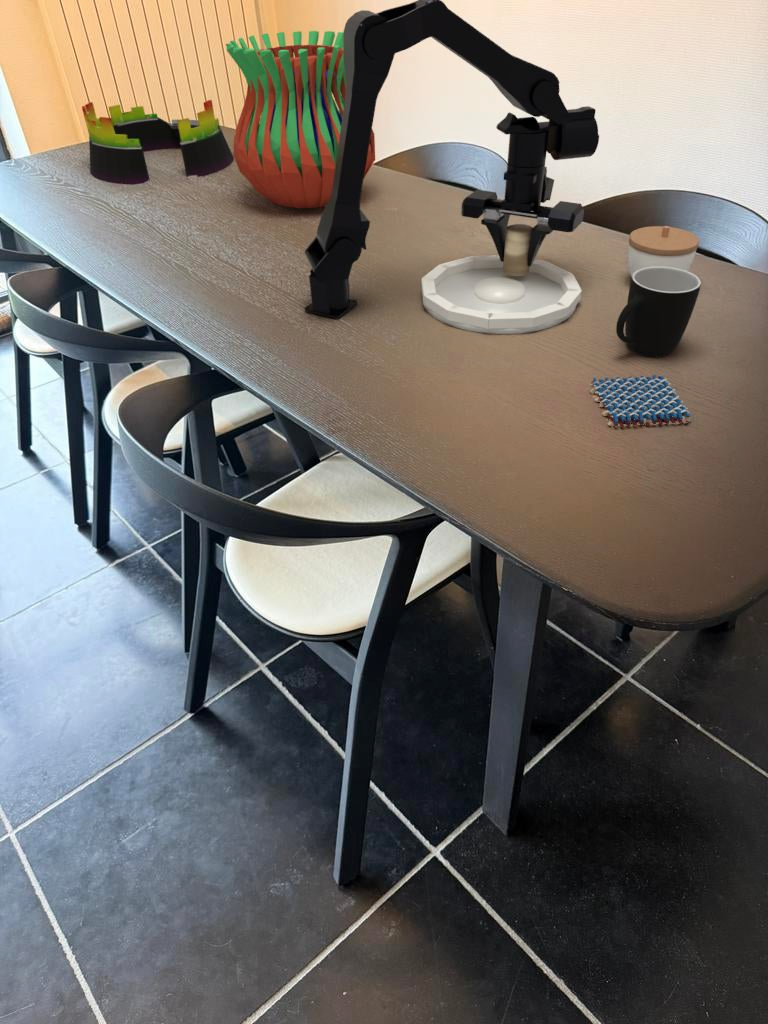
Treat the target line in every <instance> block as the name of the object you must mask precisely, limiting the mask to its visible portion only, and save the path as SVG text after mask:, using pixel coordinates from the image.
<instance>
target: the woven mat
mask: <svg viewBox="0 0 768 1024" xmlns="http://www.w3.org/2000/svg"><path fill="white" fill-rule="evenodd" d="M669 385H671V382H669V381H668V378H664V376H662V375H658V376H657V375H656V374H653V375H652V376H646V378H645V376H644V375H640V377H634V378H633V377H632V376H628V377H622V378H621V377H620V376H617V377H616V378H610V379H609V377H605V378H604V379H603V378H601V379H598V380H597V378H596V377H595V378H593V379H592V381H591V383H590V385H589V386H590V387H587V390H589V392H590V393H591V394H592V396H593V397H594V398H593V397H592V398H593V399H594V401H595V402H596V403H597V402H600V403H599V405H598V407H600V406H602V407H604V408H602V409H601V411H602V410H603V409H604V410H605V411H604V412H603V411H602V412H601V415H602V417H604V416H606V417H607V416H608V417H607V418H606V420H608V419H609V420H611V421H608V422H607V424H608V425H610V426H613V425H614V426H618V424H620V426H621V427H620V428H621V429H624V428H625V427H624V424H623V423H626V425H627V427H628V426H629V427H632V426H631V423H632V424H633V425H637V423H639V424H640V425H643V424H646V425H647V426H646V427H650V426H651V425H650V423H653V424H656V423H657V422H656V421H658V422H659V424H663V422H662V421H665V423H666V424H667V425H670V424H669V421H670V420H671V422H672V423H676V421H675V420H678V422H679V423H681V424H683V423H682V420H690V419H691V418H690V417H691V414H690V411H688V410H689V407H686V406H685V405H682V404H683V403H684V400H681V399H680V395H677V392H675V391H676V389H675V388H672V387H671V386H669ZM593 394H594V395H593ZM595 394H596V395H595ZM671 396H673V397H671ZM672 406H673V407H672ZM672 416H673V417H672ZM630 418H631V419H630ZM634 419H635V420H636V421H635V420H634ZM686 422H689V421H686ZM689 423H690V422H689ZM608 425H607V426H608ZM610 426H609V427H610ZM643 426H644V425H643ZM622 427H623V428H622Z"/></svg>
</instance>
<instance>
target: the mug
mask: <svg viewBox="0 0 768 1024" xmlns="http://www.w3.org/2000/svg"><path fill="white" fill-rule="evenodd" d="M700 279H701V278H699V277H698V276H697V275H696V274H695V273H693V272H690V271H685V270H682V269H678V268H673V267H662V266H656V267H647V268H642V269H640V270H637V271H636V272H635V273H634V274H633V275H632V277H631V279H630V284H629V288H628V295H627V301H626V302H627V303H626V305H625V306H624V307H623V309H622V310H621V312H620V314H619V315H618V318H617V321H616V327H615V330H616V335H617V337H618V339H619V340H620V341H621V342H623V343H626V344H627V347H628V348H629V350H630V351H632V352H633V353H636V354H638V355H641V356H644V357H649V356H651V358H659V357H658V356H661V357H664V355H665V356H668V355H669V353H670V354H671V353H672V352H673V351H675V349H676V348H677V347H678V345H679V344H680V341H681V340H682V338H683V336H684V333H685V331H686V329H687V327H688V324H689V323H690V319H691V317H692V314H693V312H694V308H695V306H696V302H697V300H698V296H699V294H700V291H701V290H700V288H701V286H702V285H701V284H702V283H701V280H700ZM624 330H625V331H624ZM667 354H668V355H667ZM656 356H657V357H656Z"/></svg>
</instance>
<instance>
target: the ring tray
mask: <svg viewBox="0 0 768 1024" xmlns="http://www.w3.org/2000/svg"><path fill="white" fill-rule="evenodd" d="M420 283H421V294H422V304H423V308H424V309H425V311H427V312H428V313H429V315H431V316H432V317H433V318H435V319H437V320H438V321H440V322H441V323H444V324H446V325H447V326H448V325H449V326H451V327H454V328H457V329H460V330H461V329H462V330H464V331H468V332H473V333H474V332H475V333H479V334H480V333H482V334H489V335H491V334H493V335H494V334H495V335H516V334H528V333H532V332H539V331H543V330H546V329H551V328H552V327H555V326H557V325H559V324H562V323H564V322H565V321H566V320H568V319H570V317H571V316H572V315H573V314H575V311H576V309H577V304H578V303H579V302H580V301H581V299H582V298H581V297H582V291H583V290H582V288H581V286H580V284H579V282H578V281H577V279H576V277H575V275H574V274H573V273H571V272H570V271H568V270H566V269H563V268H561V267H559V266H557V265H555V264H553V263H551V262H549V261H547V260H543V259H542V260H541V259H536V258H535V259H534V261H533V264H532V265H531V266H530V268H529V273H528V274H526V275H523V276H510V275H507V274H505V273H504V272H503V262H501V260H500V257H499V254H496V255H495V254H493V255H470V256H467V257H462V258H457V259H455V260H451V261H447V262H444V263H439V264H438V265H436V266H435V267H434V268H433V269H432V270H431V271H429V272H428V273H426V275H424V276H422V278H421V281H420Z"/></svg>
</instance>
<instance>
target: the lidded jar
mask: <svg viewBox="0 0 768 1024" xmlns="http://www.w3.org/2000/svg"><path fill="white" fill-rule="evenodd" d="M699 244H700V239H699V237H698V236H697V235H696V234H694V233H692V232H690V231H688V230H685V229H682V228H678V227H672V226H669V225H664V226H660V225H659V226H658V225H656V226H655V225H653V226H644V227H640V228H637V229H635V230H632V231H631V232H630V234H629V237H628V246H627V251H626V253H627V254H626V266H627V270H628V273H629V275H630V277H631V278H632V275H633V274H634V273H635V272H636V271H637V270H640V269H642V268H647V267H656V266H662V267H673V268H678V269H682V270H685V271H688V272H690V271H689V270H690V268H691V267H692V265H693V262H694V259H695V257H696V256H695V255H696V253H697V249H698V247H699Z"/></svg>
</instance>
